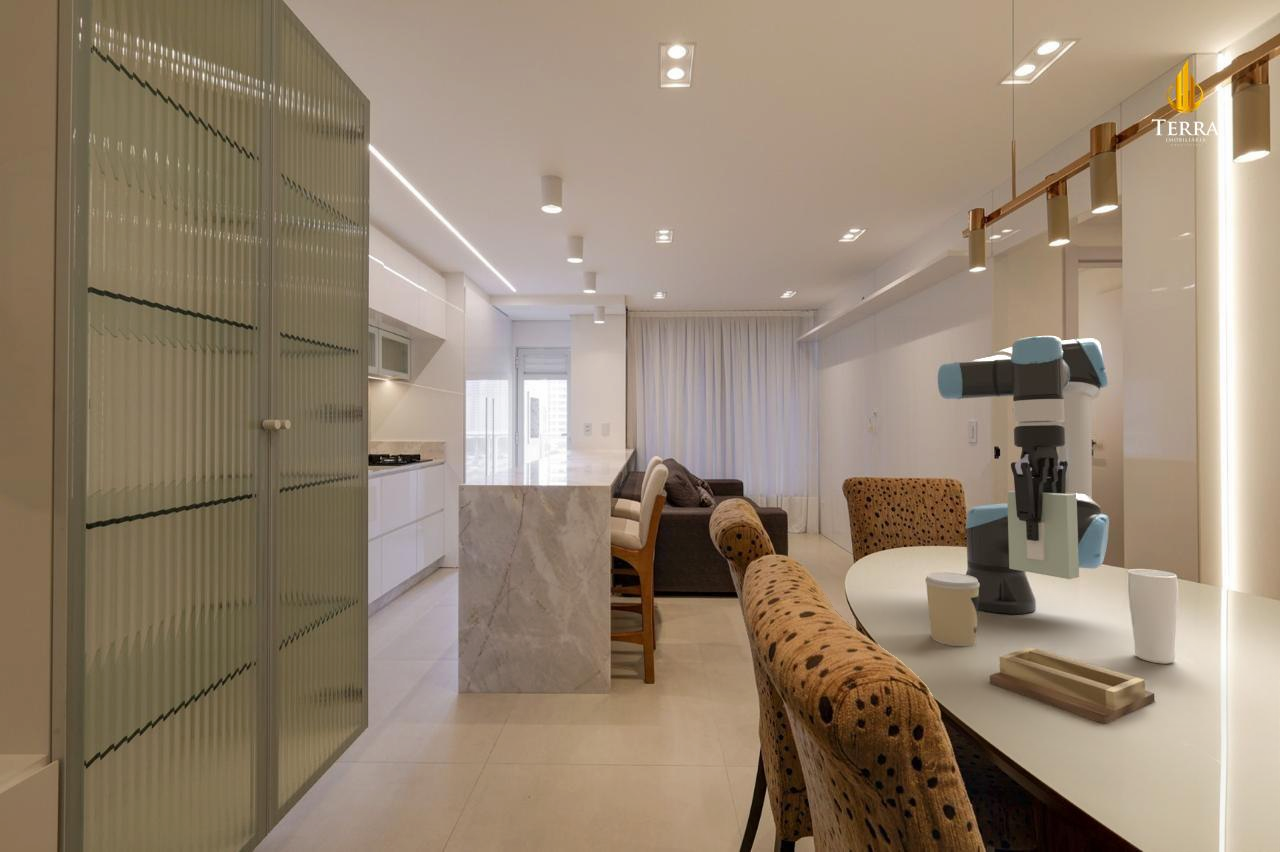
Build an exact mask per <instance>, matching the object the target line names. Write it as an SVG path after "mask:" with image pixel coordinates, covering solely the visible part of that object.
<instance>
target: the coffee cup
mask: <svg viewBox="0 0 1280 852" xmlns="http://www.w3.org/2000/svg"><path fill="white" fill-rule="evenodd" d="M926 575H927V576H926V578H925V584H926V592H927V593H926V595H927V596H926V597H927V606H928V615H929V627H930V634H931V635H930V636H931V638H932V640H934V641H935V642H937V643H940V644H943V645H947V646H954V647H971V646H974V645H976V643H977V635H978V618H979V617H978V615H979V610H978V595H979V586H980V584H979V582H978V580H977V579H976V578H975V577H972V576H969V575H966V574H964V573H956V572H932V573H929V574H926Z"/></svg>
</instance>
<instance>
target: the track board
mask: <svg viewBox="0 0 1280 852" xmlns="http://www.w3.org/2000/svg"><path fill="white" fill-rule="evenodd" d="M1145 682H1146V681H1145V679H1143V678H1140V677H1136V676H1132V675H1129V674H1126V673H1122V672H1118V671H1114V670H1112V669H1108V668H1104V667H1100V666H1097V665H1094V664H1090V663H1089V662H1088V663H1087V662H1083V661H1080V660H1076V659H1073V658H1069V657H1066V656H1063V655H1059V654H1055V653H1053V652H1048V651H1045V650H1043V649H1042V650H1041V649H1038V648H1035V647H1031V646H1029V647H1026V648H1023V649H1021V650H1017V651H1014V652H1010V653H1006V654H1004V655H1000V656H999V672H996V673H993V674H990V675H989V684H992V685H995V686H997V687H1000V688H1003V689H1005V690H1008V691H1012V692H1014V693H1015V694H1019V695H1022V696H1025V697H1028V698H1030V699H1034V700H1037V701H1038V702H1042V703H1045V704H1048V705H1051V706H1053V707H1056V708H1059V709H1061V710H1065V711H1067V712H1070V713H1074V714H1076V715H1078V716H1081V717H1084V718H1087V719H1090V720H1093V721H1095V722H1098V723H1101V724H1104V725H1105V724H1108V723H1110V722H1113V721H1114V720H1116V719H1119V718H1121V717H1123V716H1126V715H1128V714H1130V713H1132V712H1134V711H1136V710H1138V709H1141V708H1144V707H1146V706H1147V705H1149V704H1152V703H1154V702H1155V692H1152V691H1148V690H1146V683H1145Z"/></svg>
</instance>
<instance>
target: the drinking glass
mask: <svg viewBox="0 0 1280 852" xmlns="http://www.w3.org/2000/svg"><path fill="white" fill-rule="evenodd" d="M1126 580H1127V581H1126V583H1127V584H1126V586H1127V598H1128V607H1129V612H1130V620H1131V625H1132V626H1131V627H1132V633H1133V634H1132V636H1133V641H1134V642H1133V643H1134V645H1133V646H1134V654H1135V656H1136V657H1137V658H1139V659H1141V660H1144V661H1146V662H1150V663H1154V664H1166V665H1167V664H1172V663H1173V662H1175V660H1176V636H1177V635H1176V633H1177V622H1178V621H1177V619H1178V606H1179V585H1178V584H1179V583H1178V576H1177V574H1176V573H1173V572H1169V571H1164V570H1159V569H1149V568H1148V569H1147V568H1131V569H1128V570H1127V575H1126Z"/></svg>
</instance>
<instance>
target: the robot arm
mask: <svg viewBox="0 0 1280 852" xmlns="http://www.w3.org/2000/svg"><path fill="white" fill-rule="evenodd" d="M1011 345H1012V346H1011V347H1010V346H1009V347H1006V348H1003V349H1000V350H997V351H992V352H991V353H988V354H987V355H986V356H984V357H983V358H979V359H977V358H976V359H974V360H967V361H954V362H949V363H943V364H941V365H940V367H939V368H938V372H937V388H938V392H939V395H940V396H941V397H942V398H944V399H946V400H950V399H951V400H953V399H954V400H955V399H956V400H963V399H976V398H990V397H991V398H992V397H994V398H995V397H996V398H997V397H1013V398H1012V399H1013V408H1012V412H1013V422H1014V423H1015V424H1017V426H1015V427H1014V428H1013V443H1014V446H1015V447H1017V448H1021V453H1020V460H1018V461H1017V462H1016V461H1015V462H1014V461H1013V462H1011V463H1010V468H1011V472H1012V475H1013V485H1014V491H1015V498H1016V510H1017V517H1018V518H1019V520H1021V521H1026V536H1027V558H1030V559H1036V560H1042V561H1044V560H1046V551H1045V522H1041V516H1042V499H1043V492H1045V493H1061V494H1076V495H1077V525H1078V557H1079V569H1089V570H1092V569H1098V568H1099V567H1101V566H1102V565H1103V563H1104V560H1105V557H1106V551H1107V548H1108V542H1109V541H1108V540H1109V527H1110V518H1109V516H1108V515H1107V514H1104V513H1101V506H1100V505H1099V504H1098V503H1097V502H1095V501H1094V500H1093V499H1092V497H1093V496H1092V495H1093V494H1092V491H1093V490H1092V488H1093V487H1092V485H1093V483H1092V481H1093V480H1092V479H1093V477H1092V475H1093V474H1092V471H1093V469H1092V461H1093V460H1092V458H1093V457H1092V455H1093V454H1092V452H1093V451H1092V450H1093V448H1092V447H1093V445H1092V443H1093V441H1092V437H1093V436H1092V435H1093V434H1092V433H1093V432H1092V427H1093V426H1092V422H1093V419H1092V414H1093V412H1092V410H1093V409H1092V401H1094V400H1095V399H1097V398H1098V397H1099V396H1100V393H1101V389H1103V388H1106V387H1108V385H1109V384H1108V383H1109V382H1108V378H1107V377H1108V376H1107V371H1106V366H1105V360H1104V356H1103V350H1102V346H1101V342H1100V341H1099V340H1097V339H1096V338H1080V339H1079V338H1077V337H1076V338H1074V339H1069V340H1061V338H1060V337H1058V336H1055V335H1041V336H1040V335H1039V336H1030V337H1024V338H1018V339H1017V340H1015V341H1014V342H1013V343H1012V344H1011ZM965 520H966V521H965V529H966V530H965V533H966V558H967V559H966V563H967V565H966V567H967V570H966V572H965V575H969V576H972V577H975V578H976V579H977V580H978V582H979V584H980V586H979V595H978V611H979V610H980V611H984V612H988V613H996V614H1009V615H1017V614H1019V615H1020V614H1030V613H1033V612H1035V611H1036V609H1037V602H1036V597H1035V595H1034V591H1033V590H1032V587H1031V585H1030V582H1029V580H1028V577H1027V574H1026V571H1020V570H1015V569H1009V537H1008V503H996V504H995V503H994V504H986V505H979V506H974V507H973V506H972V507H971V508H969V509H968V510H967V512H966V519H965Z"/></svg>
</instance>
